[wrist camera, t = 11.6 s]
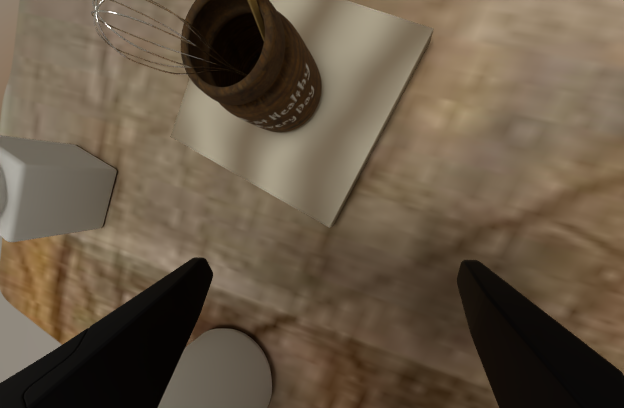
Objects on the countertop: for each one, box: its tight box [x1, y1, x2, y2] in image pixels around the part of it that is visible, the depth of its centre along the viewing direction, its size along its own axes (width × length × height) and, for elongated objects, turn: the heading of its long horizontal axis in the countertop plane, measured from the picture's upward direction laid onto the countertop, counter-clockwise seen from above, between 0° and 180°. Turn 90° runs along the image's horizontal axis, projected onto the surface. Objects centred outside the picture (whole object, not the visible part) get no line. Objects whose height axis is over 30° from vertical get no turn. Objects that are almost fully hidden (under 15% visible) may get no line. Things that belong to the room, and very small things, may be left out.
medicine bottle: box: [0, 135, 117, 242], centre depth 21 cm, size 7×7×12 cm
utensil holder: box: [91, 0, 322, 133], centre depth 12 cm, size 6×6×12 cm
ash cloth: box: [170, 0, 434, 228], centre depth 18 cm, size 16×14×2 cm
